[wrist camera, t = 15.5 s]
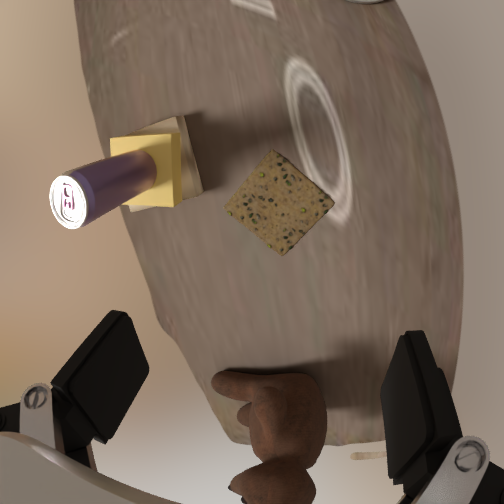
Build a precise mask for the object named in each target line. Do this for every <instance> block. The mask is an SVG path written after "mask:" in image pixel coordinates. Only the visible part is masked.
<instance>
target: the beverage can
mask: <svg viewBox="0 0 504 504" xmlns="http://www.w3.org/2000/svg"><path fill="white" fill-rule="evenodd" d="M156 176H157V168H156V164H155V162H154V160H153V158H152V157H151V156H150V155H149V154H148V153H146V152H145V151H142V150H133V151H130V152H126V153H122V154H119V155H116V156H112V157H109V158H106V159H103V160H99V161H96V162H93V163H90V164H87V165H84V166H81V167H78V168H75V169H72V170H69V171H66V172H65V173H63V174H62V175H61V176H59V177H57V178H56V179H55V180H54V182H53V183H52V186H51V189H50V204H51V208H52V211H53V213H54V215H55V217H56V218H57V220H58V221H59V222H60V223H61V224H62V225H63V226H65V227H67V228H69V229H76V228H79V227H83V226H86V225H87V224H89V223H91V222H92V221H94V220H96V219H97V218H99V217H100V216H102V215H104V214H105V213H107V212H109V211H111V210H112V209H114V208H116V207H118V206H119V205H121V204H123V203H125V202H127V201H128V200H130V199H132V198H134V197H136V196H137V195H139V194H141V193H143V192H145V191H147V190H148V189H150V188H151V187H152V186H153V184H154V182H155V180H156Z"/></svg>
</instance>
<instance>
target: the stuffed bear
mask: <svg viewBox="0 0 504 504" xmlns="http://www.w3.org/2000/svg"><path fill="white" fill-rule="evenodd" d="M211 384H212V387H213V389H214V390H215V391H216V392H217V393H219V394H221V395H223V396H226V397H228V398H232V399H235V400H240V401H249V402H251V403H249V404H246V405H245V406H243V407H242V408H240V410H239V411H238V413H237V419H238V421H239V422H240V423H241V424H242V425H245V426H247V427H249V429H250V438H251V444H252V448H253V451H254V453H255V455H256V456H257V457H258V458H259V459H260V460H261V461H262V462H263V463H262V464H259V465H257V466H254V467H251V468H249V469H247V470H245V471H244V472H242V473H240V474H238V475H237V476H235V477H234V478H233V480H232V481H231V484H230V485H229V486H228V489H229V490H231V491H233V492H235V493H237V494H239V495H241V496H242V498H241V501H242V503H244V504H312V502H313V500H314V498H315V495H316V488H315V484H314V482H313V480H312V479H311V477H310V475H309V474H308V472H307V470H306V469H308V468H310V467H312V466H313V465H314V464H315V463H316V460H317V458H318V457H319V455H320V453H321V450H322V448H323V446H324V442H325V437H326V432H327V411H326V405H325V402H324V399H323V397H322V394H321V392H320V389H319V387H318V385H317V383H316V381H315V380H314V379H313V378H312V377H310V376H309V375H307V374H303V373H285V374H275V375H254V374H247V373H240V372H233V371H220V372H218V373H216V374H215V375H214V376H213V378H212V381H211Z"/></svg>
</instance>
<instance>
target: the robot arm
mask: <svg viewBox="0 0 504 504" xmlns="http://www.w3.org/2000/svg"><path fill="white" fill-rule="evenodd" d="M346 1H350V2H354V3H361V4H372V3H378V2H381V1H384V0H346ZM148 373H149V365H148V362H147V360H146V357H145V355H144V352H143V349H142V347H141V344H140V342H139V339H138V336H137V334H136V331H135V328H134V325H133V322H132V319H131V318H130V317H129V316H128V314H127V313H126V312H122V311H116V310H111V311H110V312H109V313H108V314H107V315H106V316H105V317H104V318H103V320H102V321H101V322H100V323H99V324H98V325H97V326H96V328H95V329H94V330H93V331H92V332H91V334H90V335H89V336H88V337H87V338H86V339H85V340H84V342H83V343H82V344H81V345H80V346H79V348H78V349H77V350H76V351H75V352H74V354H73V355H72V356H71V357H70V359H69V360H68V361H67V362H66V364H65V365H64V366H63V367H62V368H61V370H60V371H59V372H58V373H57V375H56V376H55V377H54V378H53V380H52V381H51V385H52V386H53V388H52V389H50V388H49V386H48V385H46V384H43V383H36V384H34V385H31V386H30V387H28V388H27V389H26V390H25V391H24V393H23V395H22V397H21V402H19V403H16V404H12V405H9V406H5V407H1V408H0V504H181V503H177V502H174V501H170V500H167V499H164V498H161V497H158V496H155V495H152V494H149V493H146V492H144V491H141V490H138V489H136V488H133V487H131V486H128V485H126V484H123V483H121V482H118V481H116V480H114V479H112V478H109V477H107V476H105V475H103V474H101V473H99V472H97V468H96V464H95V460H94V455H93V451H92V446H91V440H92V439H93V438H94V439H95V440H97V441H99V442H101V443H103V444H106V443H107V441H108V439H111V438H112V437H113V436H114V434H115V432H116V431H117V429H118V427H119V425H120V423H121V422H122V420H123V418H124V416H125V414H126V413H127V411H128V409H129V407H130V405H131V404H132V402H133V400H134V398H135V397H136V395H137V393H138V391H139V390H140V388H141V386H142V384H143V383H144V381H145V379H146V377H147V375H148ZM381 403H382V411H383V419H384V428H385V438H386V450H387V463H388V476H389V478H390V479H392V478H393V485H398V484H403V489H404V493H405V494H404V495H403V496H402V498H401V499H400V500H399V501H398V503H397V504H504V469H502V468H500V467H499V466H497V465H495V464H494V463H492V462H490V461H489V460H490V452H489V449H488V446H487V445H486V443H485V442H484V441H483V440H482V439H480V438H478V437H475V436H465V437H463V435H462V431H461V427H460V424H459V420H458V416H457V413H456V409H455V406H454V403H453V399H452V396H451V393H450V390H449V387H448V384H447V381H446V378H445V375H444V373H443V371H442V369H441V368H437V365H436V362H435V360H434V357H433V354H432V351H431V349H430V346H429V343H428V341H427V338H426V336H425V333H424V331H422V330H417V331H406V332H405V334H404V335H401V336H400V337H399V340H398V343H397V346H396V349H395V352H394V355H393V358H392V360H391V363H390V366H389V369H388V371H387V374H386V377H385V379H384V382H383V384H382V387H381Z"/></svg>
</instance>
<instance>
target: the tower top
mask: <svg viewBox="0 0 504 504" xmlns="http://www.w3.org/2000/svg"><path fill="white" fill-rule="evenodd" d="M110 146H111V157H112V156H116V155H119V154H122V153H126V152H130V151H133V150H142V151H145V152H146V153H148V154H149V155H150V156H151V157H152V158H153V160H154V162H155V164H156V168H157V176H156V180H155V182H154V184H153V186H152V187H151V188H150V189H148V190H147V191H145V192H143V193H141V194H139V195H137V196H136V197H134V198H132V199H130V200H128V201H127V202H125V203H123V204H126V205H146V206H164V207H174V206H176V205H177V204H179V203H180V202H181V201H182V185H181V141H180V133H157V134H141V135H128V136H120V137H115V138H110Z"/></svg>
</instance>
